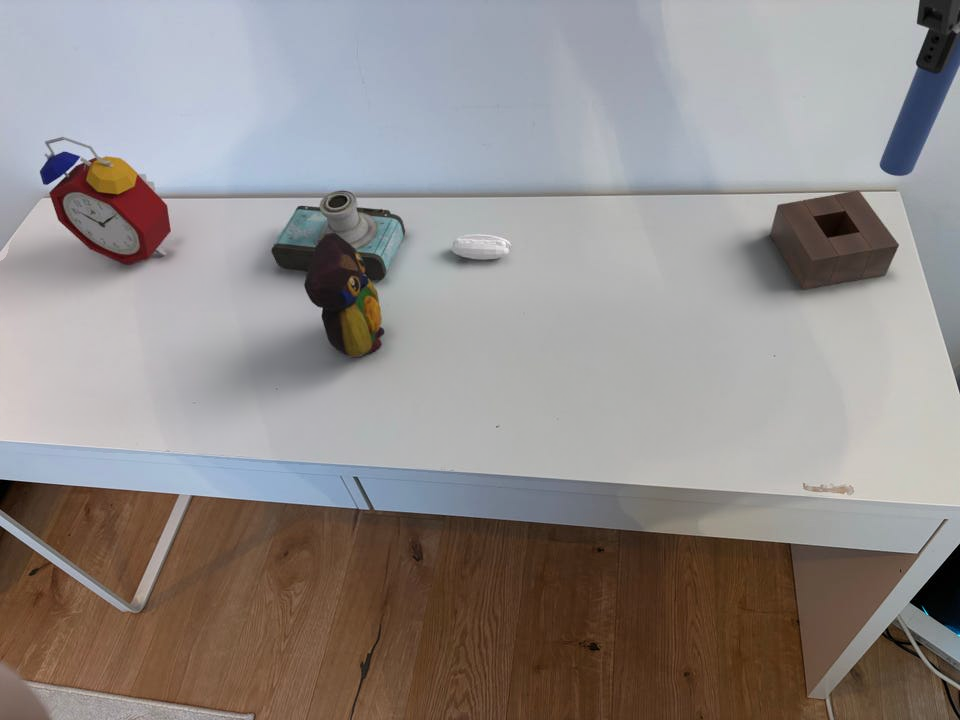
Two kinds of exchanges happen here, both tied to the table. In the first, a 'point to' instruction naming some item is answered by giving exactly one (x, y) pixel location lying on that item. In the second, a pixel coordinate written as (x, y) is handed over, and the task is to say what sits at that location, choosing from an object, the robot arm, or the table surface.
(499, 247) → the white oval lump
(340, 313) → the figurine
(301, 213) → the camera
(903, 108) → the handle
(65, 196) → the alarm clock
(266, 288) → the table surface
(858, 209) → the holder
